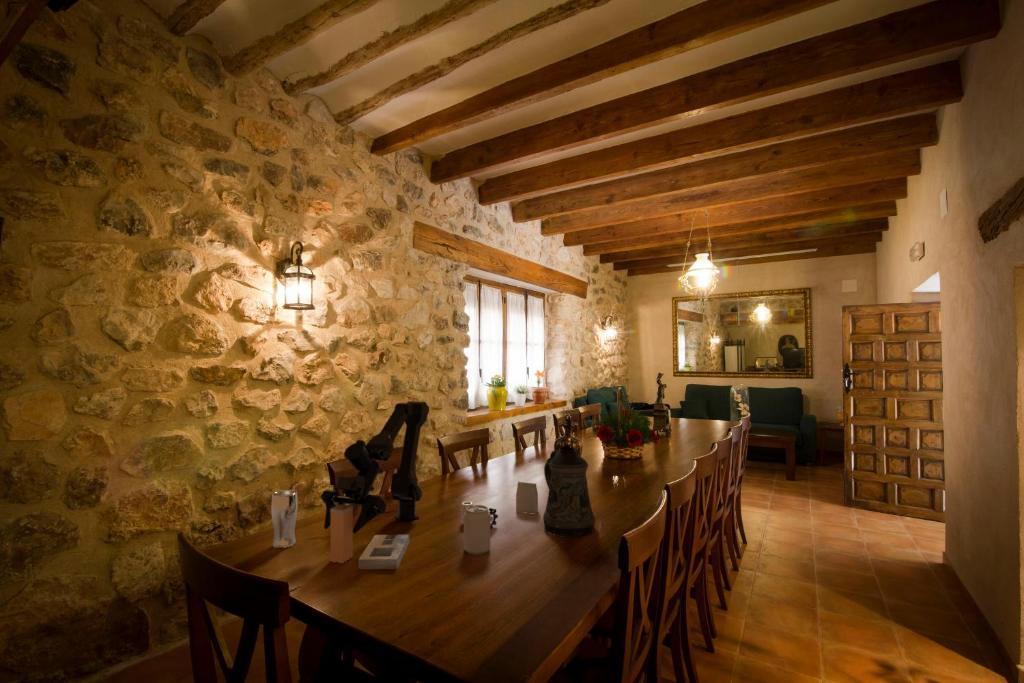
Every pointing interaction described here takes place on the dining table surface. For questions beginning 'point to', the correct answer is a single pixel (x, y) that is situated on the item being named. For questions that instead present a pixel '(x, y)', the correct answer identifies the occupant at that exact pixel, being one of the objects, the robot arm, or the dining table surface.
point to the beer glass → (284, 517)
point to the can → (477, 529)
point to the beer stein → (567, 495)
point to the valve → (492, 512)
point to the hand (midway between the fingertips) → (339, 530)
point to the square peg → (341, 533)
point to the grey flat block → (384, 552)
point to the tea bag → (527, 497)
